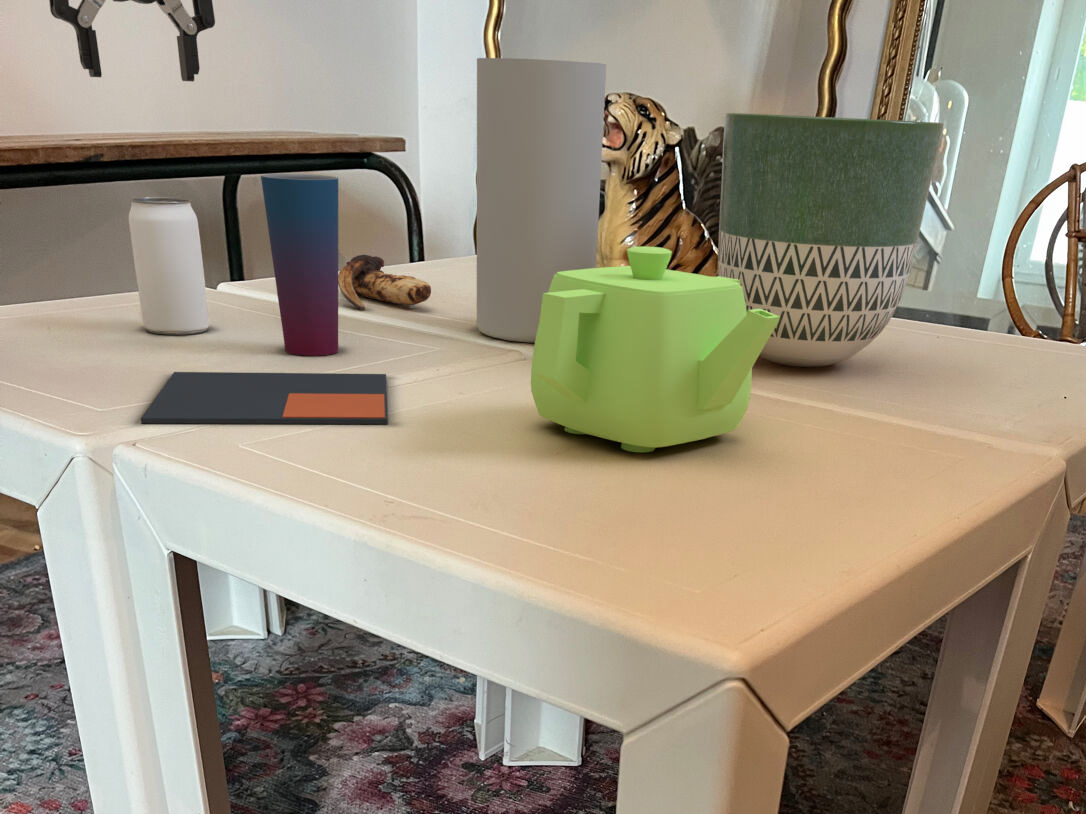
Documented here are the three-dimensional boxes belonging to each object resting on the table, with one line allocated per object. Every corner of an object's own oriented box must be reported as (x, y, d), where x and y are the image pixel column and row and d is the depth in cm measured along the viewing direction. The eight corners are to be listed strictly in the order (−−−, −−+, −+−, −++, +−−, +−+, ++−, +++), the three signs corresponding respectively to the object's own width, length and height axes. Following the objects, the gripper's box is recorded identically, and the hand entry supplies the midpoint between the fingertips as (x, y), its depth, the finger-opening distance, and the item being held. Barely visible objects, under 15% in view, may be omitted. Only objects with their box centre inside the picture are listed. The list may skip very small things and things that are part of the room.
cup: (362, 350, 109) (354, 178, 102) (315, 360, 104) (302, 180, 97) (308, 341, 112) (297, 173, 105) (260, 351, 107) (244, 175, 99)
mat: (141, 423, 83) (140, 416, 82) (174, 376, 96) (173, 370, 96) (387, 424, 85) (387, 417, 85) (386, 378, 99) (386, 372, 99)
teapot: (834, 445, 85) (864, 259, 79) (656, 492, 73) (674, 276, 66) (655, 397, 96) (668, 231, 90) (475, 431, 84) (475, 242, 78)
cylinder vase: (603, 328, 125) (618, 66, 112) (577, 348, 114) (590, 61, 102) (496, 319, 127) (498, 61, 115) (461, 338, 117) (459, 56, 104)
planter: (937, 382, 107) (989, 125, 96) (750, 386, 102) (783, 116, 91) (838, 343, 123) (873, 119, 112) (673, 345, 118) (693, 111, 107)
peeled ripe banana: (306, 297, 138) (378, 316, 126) (302, 256, 136) (375, 271, 124) (373, 290, 143) (449, 308, 131) (370, 250, 141) (446, 264, 128)
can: (131, 332, 113) (111, 199, 107) (165, 322, 118) (149, 195, 112) (189, 337, 111) (173, 203, 105) (221, 327, 117) (208, 199, 111)
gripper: (186, -120, 104) (206, 82, 113) (21, -142, 98) (55, 75, 106) (209, -130, 99) (228, 83, 107) (35, -154, 92) (70, 75, 100)
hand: (142, 79), depth 106 cm, fingers open, 8 cm apart
